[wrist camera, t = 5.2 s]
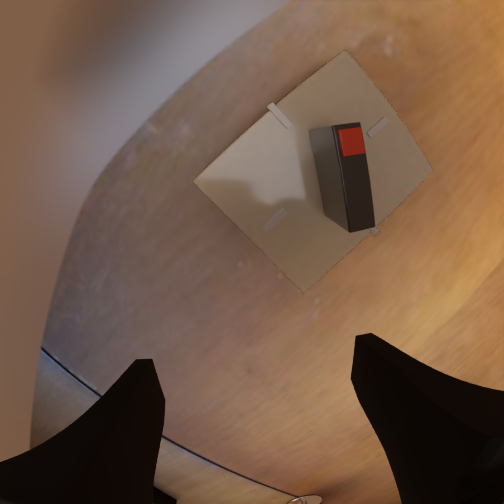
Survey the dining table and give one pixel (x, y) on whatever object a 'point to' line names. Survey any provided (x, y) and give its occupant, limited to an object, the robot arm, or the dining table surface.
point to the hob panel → (312, 171)
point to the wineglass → (307, 500)
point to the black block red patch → (343, 175)
